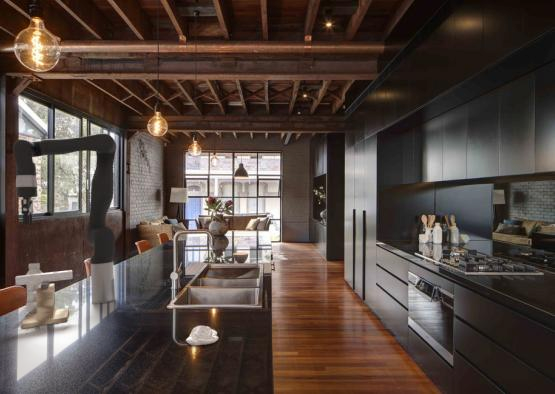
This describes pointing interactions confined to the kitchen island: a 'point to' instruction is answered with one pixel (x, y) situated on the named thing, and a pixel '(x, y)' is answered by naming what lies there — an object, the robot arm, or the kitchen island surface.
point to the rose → (202, 336)
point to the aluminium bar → (43, 277)
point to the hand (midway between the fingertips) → (28, 223)
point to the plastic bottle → (32, 289)
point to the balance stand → (45, 308)
